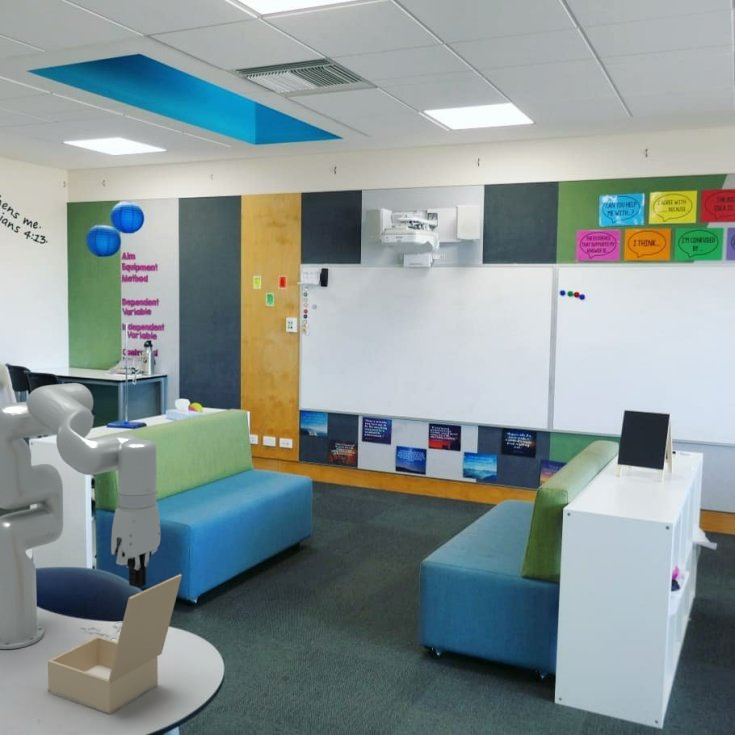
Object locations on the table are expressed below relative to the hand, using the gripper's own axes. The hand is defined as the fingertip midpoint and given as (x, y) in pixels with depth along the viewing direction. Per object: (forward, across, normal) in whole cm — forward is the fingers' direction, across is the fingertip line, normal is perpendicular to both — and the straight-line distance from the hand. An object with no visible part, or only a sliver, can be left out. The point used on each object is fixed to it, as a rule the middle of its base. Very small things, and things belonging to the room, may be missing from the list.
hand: (137, 585), depth 163 cm
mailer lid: (+8, 0, +2) cm, 9 cm away
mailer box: (+25, 0, -10) cm, 27 cm away
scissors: (+26, -19, -27) cm, 42 cm away
